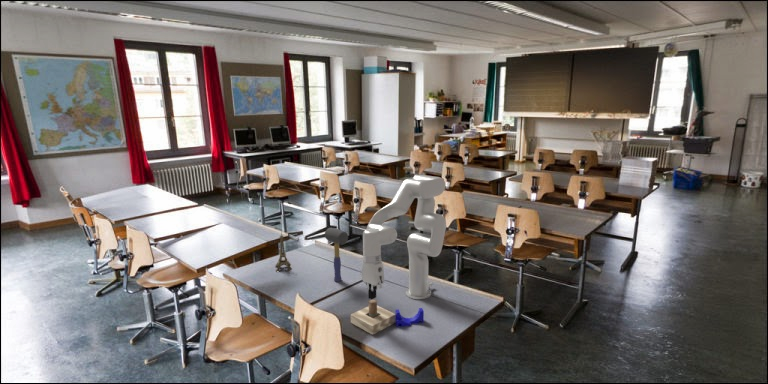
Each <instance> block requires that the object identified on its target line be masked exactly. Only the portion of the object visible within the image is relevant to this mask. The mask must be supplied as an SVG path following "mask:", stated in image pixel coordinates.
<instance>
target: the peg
mask: <svg viewBox="0 0 768 384" xmlns="http://www.w3.org/2000/svg"><path fill="white" fill-rule="evenodd" d="M368 306H369V317H371V318H375V317H377V306H378V301H377V299H376V300H375V299H372V300H371V299H370V300H368Z"/></svg>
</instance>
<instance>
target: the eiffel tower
mask: <svg viewBox="0 0 768 384" xmlns="http://www.w3.org/2000/svg"><path fill="white" fill-rule="evenodd" d="M280 234H281V235H279V238H280V246H279V247H280V249H279V250H280V252H279V255H278V256H279V258H278V259H277V260H278V261H277V262H276V264H275V265H274V268H276V269H275V273H278V272H277V271H279V272H280V270H281V267H282V266H286V267H287V269H288V271H292V270H293V268H292V267H291V265H292V264H291V262H290V261H289V260H288V258H287V253H286V250H285V245H284V235H283V234H282V231H280Z"/></svg>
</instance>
